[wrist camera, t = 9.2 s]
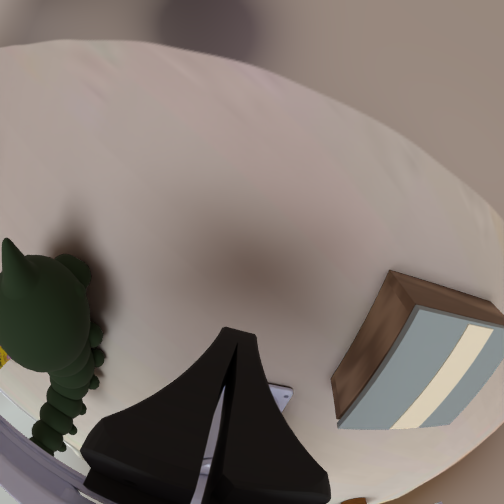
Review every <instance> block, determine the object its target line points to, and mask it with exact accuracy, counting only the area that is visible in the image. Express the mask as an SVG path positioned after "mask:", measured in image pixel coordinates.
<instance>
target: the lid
mask: <svg viewBox="0 0 504 504" xmlns="http://www.w3.org/2000/svg"><path fill="white" fill-rule="evenodd" d="M503 358H504V326H503V325H499V324H495V323H490V322H486V321H482V320H478V319H474V318H469V317H465V316H461V315H457V314H453V313H449V312H445V311H441V310H437V309H433V308H429V307H424V306H420V305H415V307H414V309H413V310H412V312H411V314H410V316H409V318H408V320H407V322H406V323H405V325H404V327H403V329H402V331H401V332H400V334H399V336H398V337H397V339H396V341H395V342H394V344H393V346H392V347H391V349H390V351H389V352H388V354H387V355H386V357H385V359H384V360H383V362H382V363H381V365H380V366H379V368H378V369H377V371H376V372H375V374H374V375H373V377H372V378H371V379H370V381H369V382H368V384H367V385H366V386H365V388H364V389H363V391H362V392H361V393H360V395H359V396H358V397H357V399H356V400H355V401H354V403H353V404H352V405H351V406H350V408H349V409H348V410H347V411H346V413H345V414H344V415H343V416H342V418H341V419H340V420H339V421H338V422H337V427H338V429H360V430H389V429H411V428H423V427H433V426H442V425H449V424H450V423H451V422H452V421H453V420H454V419H455V418H456V417H457V416H458V415H459V414H460V413H461V412H462V411H463V410H464V408H465V407H466V406H467V405H468V404H469V403H470V402H471V400H472V399H473V398H474V397H475V396H476V395H477V393H478V392H479V391H480V390H481V388H482V387H483V386H484V385H485V383H486V382H487V381H488V379H489V378H490V377H491V375H492V374H493V373H494V371H495V370H496V368H497V367H498V366H499V364H500V363H501V361H502V360H503Z"/></svg>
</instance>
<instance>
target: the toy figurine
mask: <svg viewBox="0 0 504 504" xmlns="http://www.w3.org/2000/svg"><path fill="white" fill-rule="evenodd" d="M90 281H91V273H90V270H89V267H88V266H87V265H86V264H85V263H84V262H83V261H81V260H79V259H77V258H76V257H74V256H71V255H69V254H62V255H59V256H57V257H56V258H55V259H52V258H50V257H46V256H41V255H26V256H24V255H23V254H22V253H21V251H20V250H19V249H18V248H17V247H16V246H15V245H14V243H13V242H12V241H11V240H10V239H8V238H5V239H4V240H3V242H2V272H1V273H0V346H1V348H2V349H3V350H4V351H5V352H6V353H7V355H8V356H9V357H10V358H11V359H12V360H14V361H15V362H17V363H18V364H20V365H21V366H23V367H25V368H27V369H30V370H33V371H36V372H48V374H49V376H50V382H51V386H50V387H49V389H48V391H47V395H46V397H47V402H46V403H44V404H43V406H42V407H41V409H40V420H38V421H37V422H36V423H35V424H34V425H33V428H32V435H33V437H31V438H30V439H29V440H31V441H32V442H33V443H35V444H36V445H37V446H39V447H40V448H41V449H43V450H44V451H46V452H47V453H49V454H50V455H51V456H53V457H54V452H55V451H57V450H58V451H60V452H64V451H66V445H65V443H64V442H63V435H66V434H67V433H69V434H71V435H75V434H76V433H77V428H76V427H75V426H74V424H73V418H75V417H77V416H78V415H84V414H85V413H86V410H87V408H86V406H85V404H84V403H83V401H82V398H83V397H84V396H85V395H86V394H87V392H88V389H96V388H97V387H99V383H100V382H99V379H98V377H97V376H95V375H94V370H95V367H99V366H101V365H102V364H103V363H104V359H105V357H104V354H103V353H102V351H101V350H98V349H96V348H95V349H91V347H92V348H94V347H97V346H98V345H99V344H100V343H101V342H102V338H103V332H102V330H101V328H100V327H99V326H98V325H96V324H95V323H93V322H91V321H90V309H89V304H88V300H87V296H86V288H87V287H88V285H89V283H90ZM54 458H55V457H54Z"/></svg>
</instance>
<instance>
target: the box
mask: <svg viewBox="0 0 504 504" xmlns="http://www.w3.org/2000/svg"><path fill="white" fill-rule="evenodd" d="M415 305H420V306H424V307H429V308H433V309H437V310H441V311H445V312H449V313H453V314H457V315H461V316H465V317H469V318H474V319H478V320H482V321H486V322H490V323H495V324H499V325H503V326H504V315H503V314H502V313H501V312H500V311H499V310H498V309H497V308H496V307H495V306H494V305H493V304H492V303H491V302H490V301H487V300H484V299H481V298H478V297H475V296H472V295H469V294H466V293H463V292H460V291H456V290H453V289H450V288H447V287H444V286H441V285H437V284H434V283H431V282H428V281H425V280H421V279H418V278H415V277H412V276H408V275H405V274H402V273H398V272H395V271H392V270H389V272H388V275H387V277H386V279H385V281H384V283H383V285H382V288H381V290H380V292H379V294H378V296H377V298H376V300H375V302H374V304H373V306H372V308H371V310H370V312H369V314H368V316H367V318H366V320H365V322H364V323H363V325H362V327H361V329H360V331H359V333H358V334H357V336H356V338H355V340H354V342H353V343H352V345H351V347H350V349H349V350H348V352H347V354H346V355H345V357H344V359H343V360H342V362H341V364H340V365H339V367H338V368H337V370H336V372H335V373H334V375H333V376H332V378H331V384H332V390H333V397H334V404H335V412H336V419H341V418H342V416H343V415H344V414H345V413H346V411H347V410H348V409H349V408H350V406H351V405H352V404H353V403H354V401H355V400H356V399H357V397H358V396H359V395H360V393H361V392H362V391H363V389H364V388H365V386H366V385H367V384H368V382H369V381H370V379H371V378H372V377H373V375H374V374H375V372H376V371H377V369H378V368H379V366H380V365H381V363H382V362H383V360H384V359H385V357H386V355H387V354H388V352H389V351H390V349H391V347H392V346H393V344H394V342H395V341H396V339H397V337H398V336H399V334H400V332H401V331H402V329H403V327H404V325H405V323H406V322H407V320H408V318H409V316H410V314H411V312H412V310H413V309H414V307H415Z"/></svg>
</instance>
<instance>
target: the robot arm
mask: <svg viewBox="0 0 504 504" xmlns="http://www.w3.org/2000/svg"><path fill="white" fill-rule="evenodd" d="M292 395H293V390H292V389H291V388H286V387H281V386H276V385H271V384H268V382H267V379H266V376H265V373H264V370H263V367H262V363H261V359H260V355H259V351H258V345H257V337H256V335H255V334H252V333H248V332H244V331H240V330H236V329H232V328H229V327H223V328H222V329H221V331H220V333H219V335H218V336H217V338H216V339H215V340H214V342H213V343H212V344H211V346H210V347H209V348H208V349H207V350H206V351H205V352H204V354H203V355H202V356H201V357H200V358H199V359H198V360H197V361H196V362H195V363H194V364H193V365H192V366H191V367H190V368H189V369H188V370H186V371H185V372H184V373H183V374H182V375H181V376H179V377H178V378H177V379H176V380H174V381H173V382H172V383H170V384H169V385H167V386H166V387H164V388H163V389H162V390H160V391H159V392H157V393H155V394H154V395H152V396H150V397H149V398H147V399H145V400H143V401H141V402H139V403H137V404H135V405H133V406H131V407H129V408H127V409H125V410H122V411H120V412H117V413H115V414H112V415H109V416H107V417H104V418H102V419H101V420H100V421H99V422H98V423H97V424H96V425H95V427H94V428H93V429H92V430H91V432H90V433H89V434H88V436H87V438H86V440H85V442H84V443H83V445H82V447H81V449H80V452H81V454H82V456H83V458H84V459H85V461H86V462H87V463H88V465H89V466H90V467H91V469H90V471H89V473H88V475H87V477H86V476H84V475H82V474H81V473H79V472H77V471H75V470H73V469H72V468H70V467H69V466H67V465H65V464H64V463H62V462H61V461H59V460H57V459H56V458H54V457H53V456H51V455H50V454H49V453H47V452H46V451H44V450H43V449H41V448H40V447H39V446H37V445H36V444H35V443H33V442H32V441H31V440H29V439H28V438H27V437H25V436H24V435H23V434H22V433H20V432H19V431H18V430H17V429H15V428H14V427H13V426H12V425H11V424H10V423H9V422H7V421H6V420H5V419H4V418H3V417H2V416H1V415H0V486H1V487H2V488H3V489H4V490H6V491H7V492H8V493H9V494H10V495H11V496H12V497H13V498H14V499H15V500H16V501H17V502H19V503H20V504H96V503H94V502H92V501H90V500H88V499H87V498H85V497H83V496H82V495H80V493H79V491H80V492H82V493H84V494H86V495H88V496H90V497H91V498H93V499H95V500H97V501H99V502H101V503H103V504H326V503H328V502H329V501H330V499H331V489H330V484H329V479H328V474H327V472H326V471H325V470H324V469H323V468H322V467H321V466H320V465H319V464H318V463H317V462H316V461H315V460H314V459H313V457H312V456H311V455H310V454H309V453H308V452H307V450H306V449H305V448H304V447H303V445H302V444H301V443H300V441H299V440H298V439H297V437H296V436H295V434H294V433H293V431H292V430H291V428H290V427H289V425H288V424H287V422H286V420H285V419H284V417H283V415H282V411H283V410H284V408H285V406H286V405H287V403H288V401H289V400H290V398H291V396H292ZM78 490H79V491H78ZM435 504H442V502H438V503H435Z"/></svg>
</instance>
